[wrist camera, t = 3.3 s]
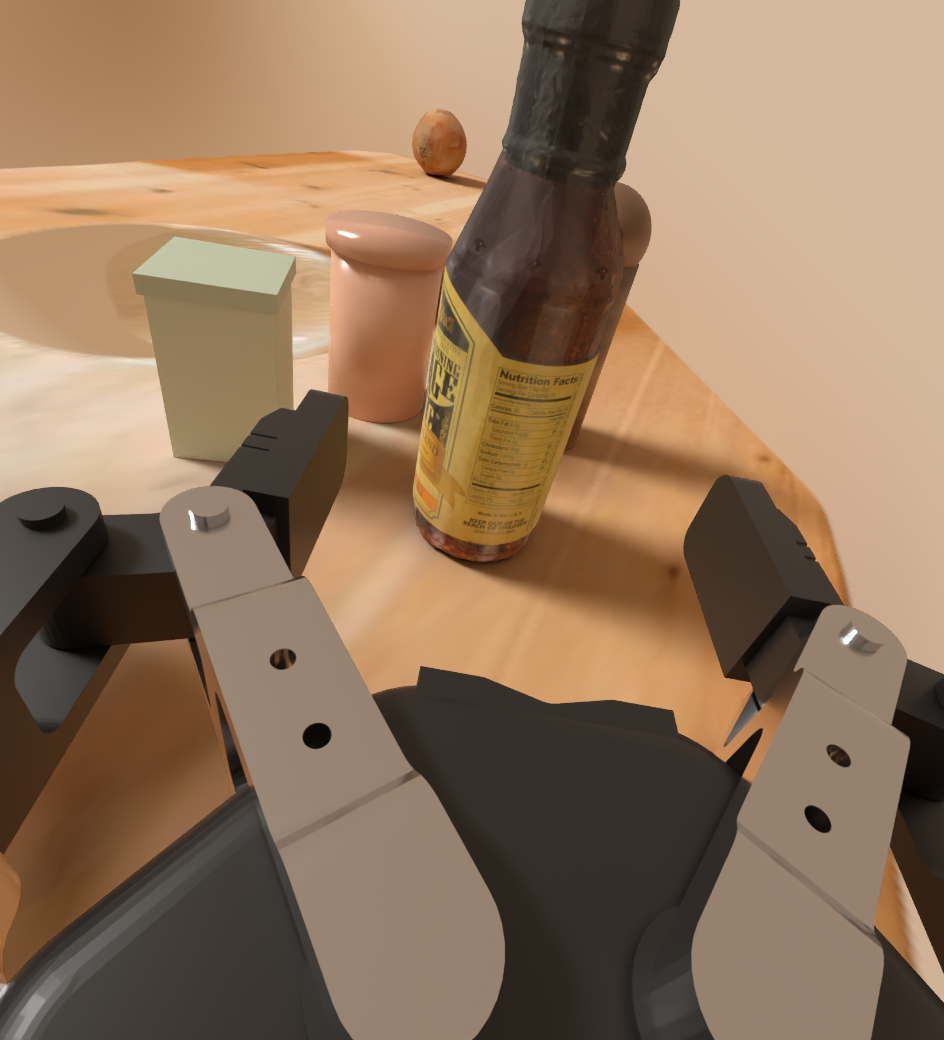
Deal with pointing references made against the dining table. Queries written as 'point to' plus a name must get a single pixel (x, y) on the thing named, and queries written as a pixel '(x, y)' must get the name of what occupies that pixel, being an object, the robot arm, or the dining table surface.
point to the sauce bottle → (534, 276)
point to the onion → (439, 143)
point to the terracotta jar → (382, 310)
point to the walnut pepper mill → (635, 243)
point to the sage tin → (219, 340)
